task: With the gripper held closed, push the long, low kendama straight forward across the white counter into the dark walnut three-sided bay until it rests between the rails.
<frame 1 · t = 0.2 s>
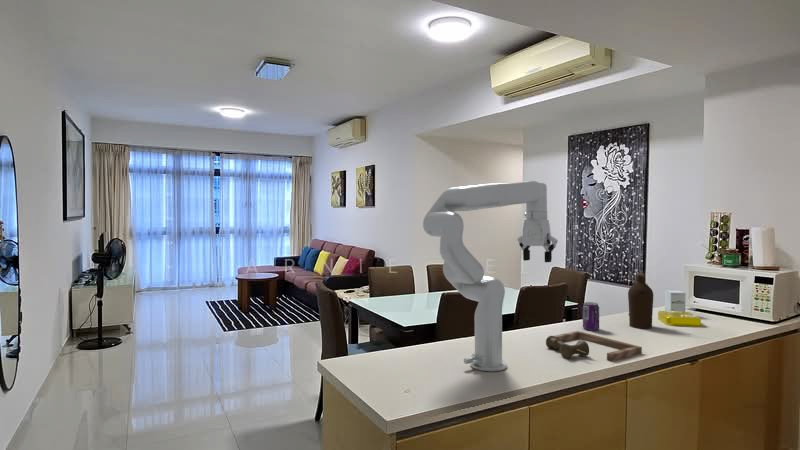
hand: (537, 261, 172), 36 cm above the counter, tool pointing down, fingers open, 9 cm apart
supplement box: (675, 315, 239), on the counter
kendama: (567, 355, 174), on the counter
beverage can: (591, 329, 211), on the counter
walnut bay: (584, 349, 179), on the counter
olive oil: (640, 326, 215), on the counter
element tile: (678, 323, 223), on the counter
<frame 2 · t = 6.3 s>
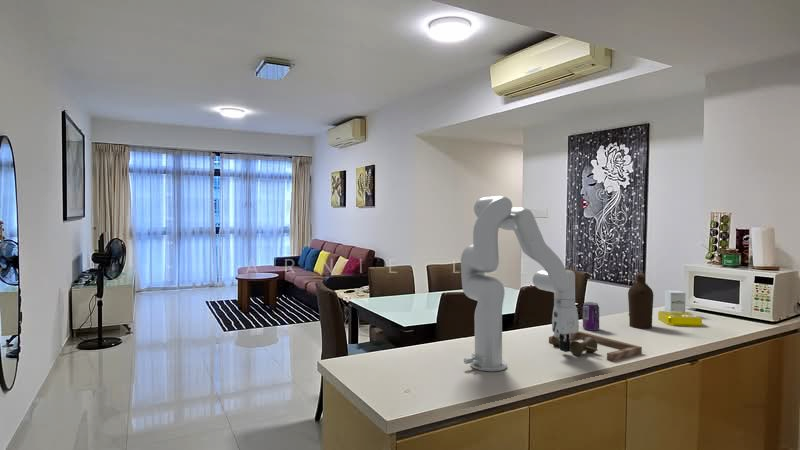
hand: (564, 350, 173), 1 cm above the counter, tool pointing down, fingers closed
kendama: (575, 352, 177), on the counter
everything else where it was.
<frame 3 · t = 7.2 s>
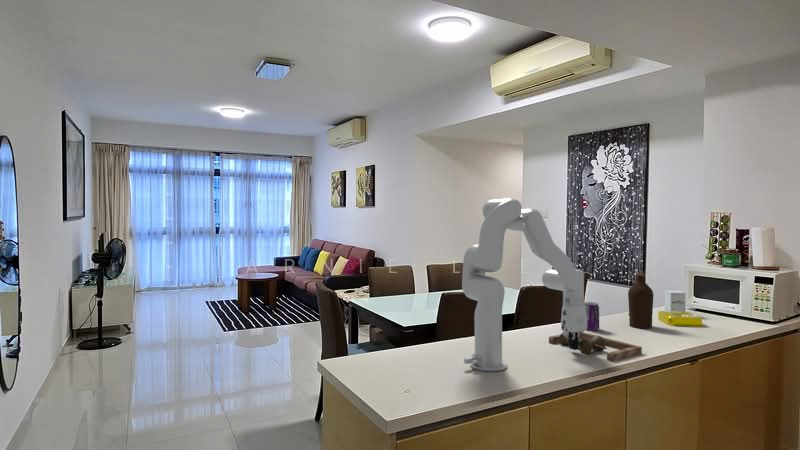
hand: (573, 348, 176), 1 cm above the counter, tool pointing down, fingers closed
kendama: (583, 350, 180), on the counter
everything else where it was.
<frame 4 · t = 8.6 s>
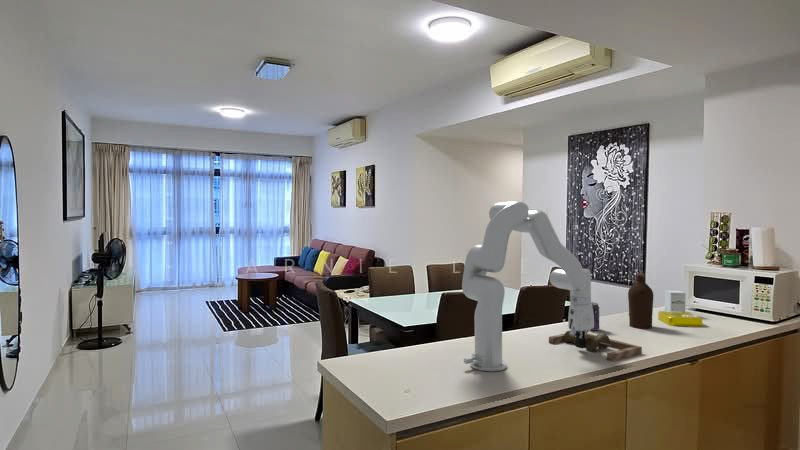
hand: (580, 347, 178), 1 cm above the counter, tool pointing down, fingers closed
kendama: (588, 348, 183), on the counter
everything else where it was.
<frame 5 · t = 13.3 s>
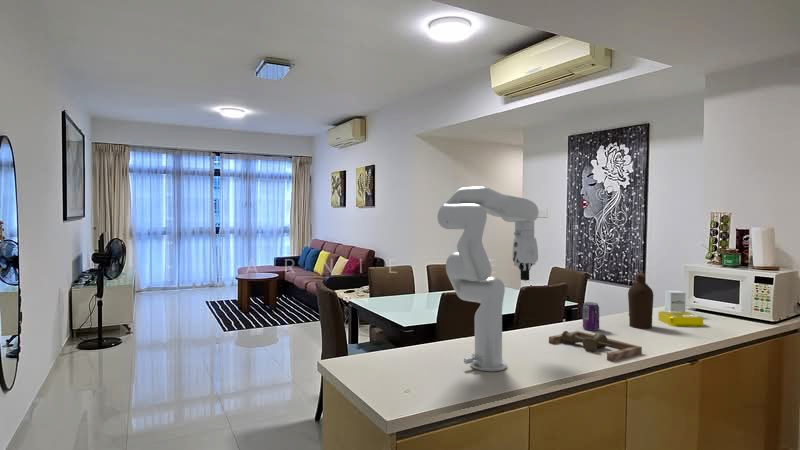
hand: (524, 280, 183), 27 cm above the counter, tool pointing down, fingers closed
at the end: kendama inside the target area (2.3 cm from its centre), on the counter; kendama moved 13.8 cm from its start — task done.
